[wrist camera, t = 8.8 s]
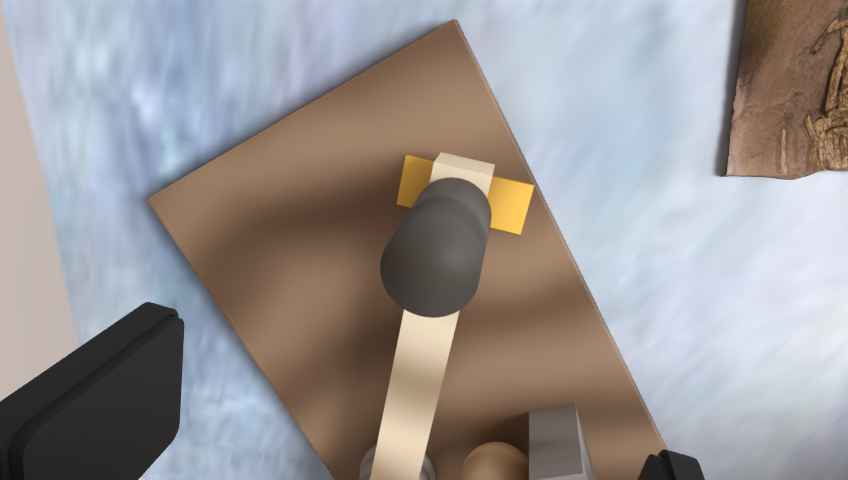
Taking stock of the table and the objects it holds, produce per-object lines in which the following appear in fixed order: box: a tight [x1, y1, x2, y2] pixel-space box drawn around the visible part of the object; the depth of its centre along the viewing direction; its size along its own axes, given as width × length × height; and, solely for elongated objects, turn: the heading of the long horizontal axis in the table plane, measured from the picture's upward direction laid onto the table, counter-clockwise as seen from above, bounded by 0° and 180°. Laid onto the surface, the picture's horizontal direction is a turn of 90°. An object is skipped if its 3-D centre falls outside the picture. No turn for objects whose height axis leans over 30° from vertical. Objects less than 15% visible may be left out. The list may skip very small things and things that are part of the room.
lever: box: [359, 152, 495, 480], centre depth 26 cm, size 22×4×8 cm, turn 169°
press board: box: [147, 20, 667, 480], centre depth 28 cm, size 26×18×6 cm
